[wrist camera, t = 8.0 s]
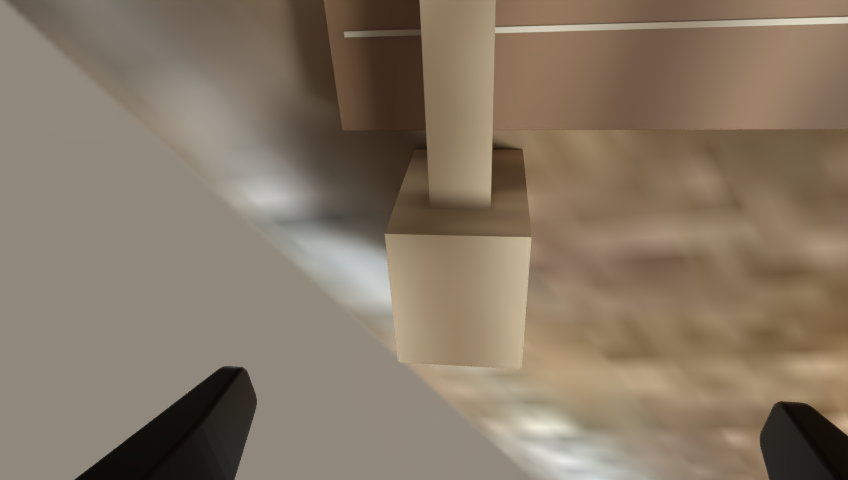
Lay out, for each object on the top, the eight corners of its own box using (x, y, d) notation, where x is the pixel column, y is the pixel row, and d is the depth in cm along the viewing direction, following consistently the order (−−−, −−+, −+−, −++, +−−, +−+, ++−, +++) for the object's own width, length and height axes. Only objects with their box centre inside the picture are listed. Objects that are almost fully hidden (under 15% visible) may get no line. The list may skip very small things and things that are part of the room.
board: (1123, -158, 12) (1224, -169, 11) (979, 105, 16) (1037, 129, 14) (329, -105, 15) (307, -107, 13) (356, 110, 18) (341, 130, 17)
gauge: (539, -141, 14) (562, -169, 9) (515, 265, 21) (521, 373, 16) (396, -130, 15) (342, -151, 10) (421, 262, 22) (398, 366, 17)
